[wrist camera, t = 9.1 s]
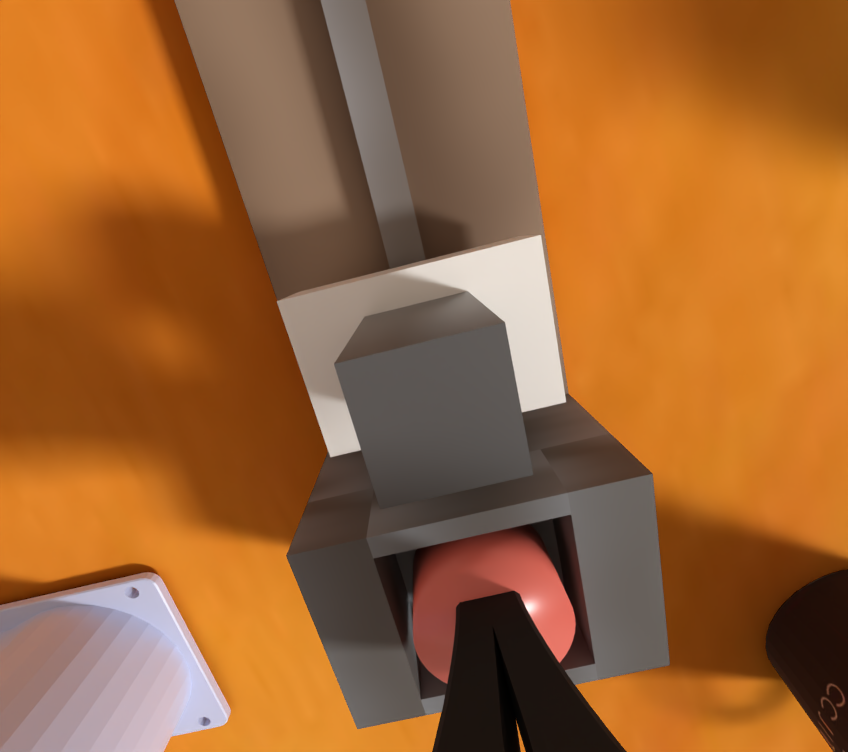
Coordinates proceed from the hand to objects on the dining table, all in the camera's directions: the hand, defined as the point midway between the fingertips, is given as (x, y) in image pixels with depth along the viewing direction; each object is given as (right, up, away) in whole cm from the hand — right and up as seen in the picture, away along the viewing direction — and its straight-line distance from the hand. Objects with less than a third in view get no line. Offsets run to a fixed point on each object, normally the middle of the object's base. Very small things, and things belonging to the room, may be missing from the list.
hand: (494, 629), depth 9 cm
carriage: (-1, +7, +2) cm, 7 cm away
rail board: (-2, +9, +4) cm, 10 cm away
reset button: (0, +1, +2) cm, 2 cm away
